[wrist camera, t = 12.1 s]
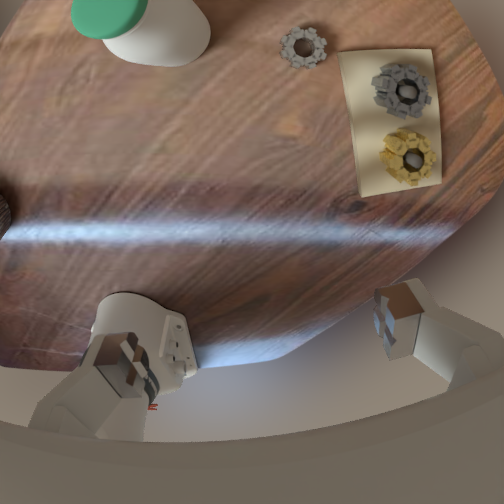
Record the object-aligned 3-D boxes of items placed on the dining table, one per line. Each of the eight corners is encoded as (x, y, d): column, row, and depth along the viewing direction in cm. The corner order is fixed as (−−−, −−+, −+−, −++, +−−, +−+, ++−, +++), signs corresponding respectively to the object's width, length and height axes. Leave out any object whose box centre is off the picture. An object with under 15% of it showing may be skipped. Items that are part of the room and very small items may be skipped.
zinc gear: (329, 62, 30) (334, 61, 28) (289, 75, 31) (291, 74, 29) (312, 24, 28) (316, 21, 26) (271, 36, 29) (273, 34, 27)
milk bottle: (223, 19, 28) (194, -41, 11) (193, 76, 31) (131, 78, 14) (162, -1, 26) (82, -58, 9) (134, 55, 29) (31, 50, 12)
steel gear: (426, 101, 31) (440, 105, 28) (387, 124, 32) (398, 129, 30) (402, 55, 28) (415, 55, 25) (361, 77, 30) (371, 78, 27)
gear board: (435, 179, 37) (456, 195, 33) (358, 192, 39) (372, 210, 34) (424, 49, 28) (448, 49, 23) (336, 52, 30) (351, 49, 25)
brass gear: (424, 173, 36) (436, 182, 33) (381, 180, 36) (391, 189, 34) (422, 125, 32) (435, 131, 30) (376, 130, 33) (387, 136, 30)
